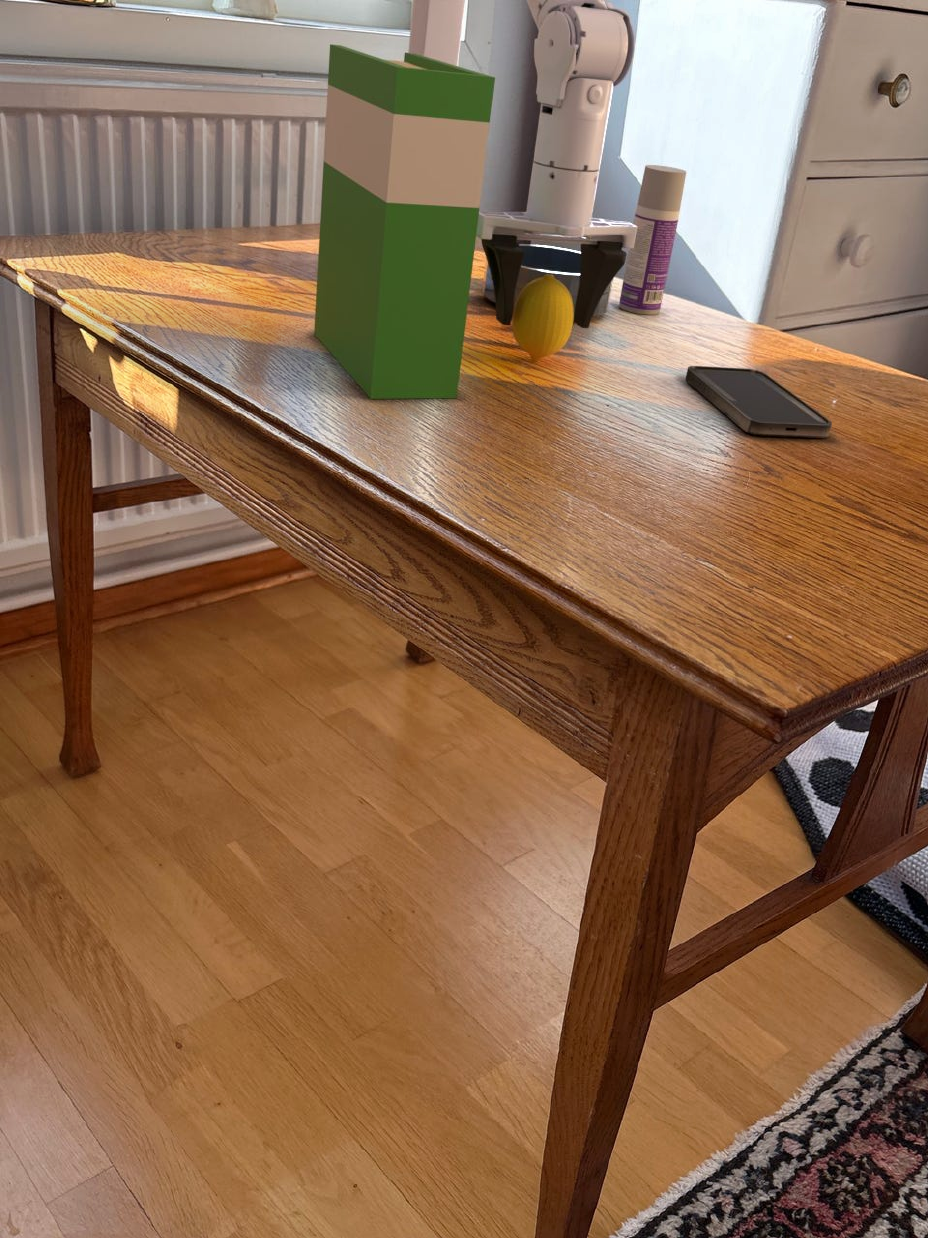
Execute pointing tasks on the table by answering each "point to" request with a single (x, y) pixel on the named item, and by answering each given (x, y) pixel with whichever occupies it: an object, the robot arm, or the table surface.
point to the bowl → (548, 272)
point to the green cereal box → (400, 219)
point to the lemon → (543, 317)
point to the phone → (758, 402)
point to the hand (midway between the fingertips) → (542, 323)
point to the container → (652, 239)
